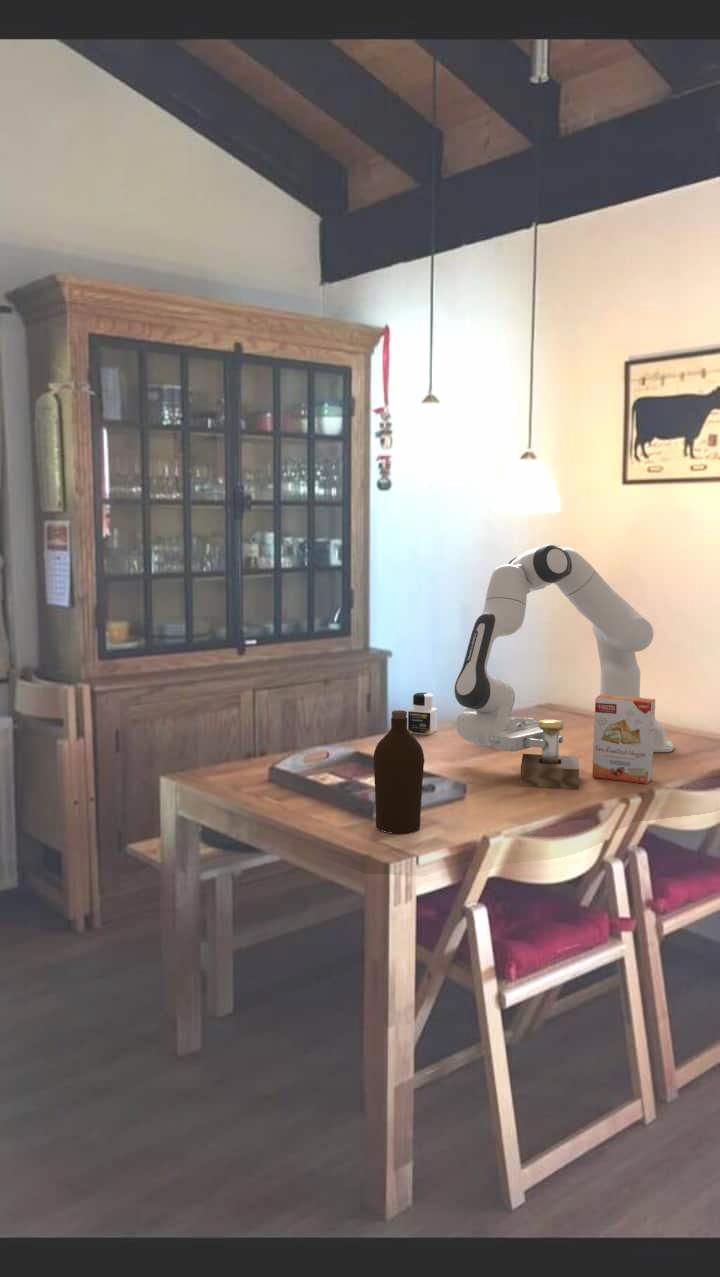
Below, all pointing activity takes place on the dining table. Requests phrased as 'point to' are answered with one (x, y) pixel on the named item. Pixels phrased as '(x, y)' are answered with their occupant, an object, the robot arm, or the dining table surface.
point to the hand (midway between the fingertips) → (553, 742)
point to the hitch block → (550, 772)
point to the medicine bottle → (422, 715)
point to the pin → (550, 740)
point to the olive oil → (398, 778)
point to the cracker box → (623, 738)
